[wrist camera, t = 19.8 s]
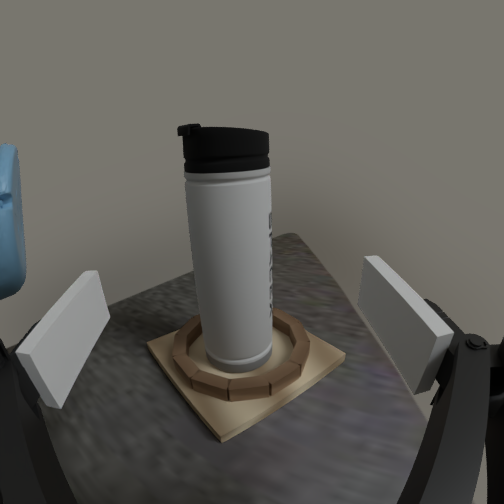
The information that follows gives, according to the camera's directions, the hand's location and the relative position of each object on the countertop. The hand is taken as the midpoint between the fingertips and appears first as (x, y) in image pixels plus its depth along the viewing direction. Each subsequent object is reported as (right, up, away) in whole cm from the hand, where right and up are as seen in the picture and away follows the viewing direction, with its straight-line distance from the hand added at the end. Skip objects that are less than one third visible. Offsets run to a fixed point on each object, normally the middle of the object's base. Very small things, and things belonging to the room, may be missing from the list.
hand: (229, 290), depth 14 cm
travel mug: (0, -8, +13) cm, 15 cm away
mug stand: (0, -9, +14) cm, 16 cm away
